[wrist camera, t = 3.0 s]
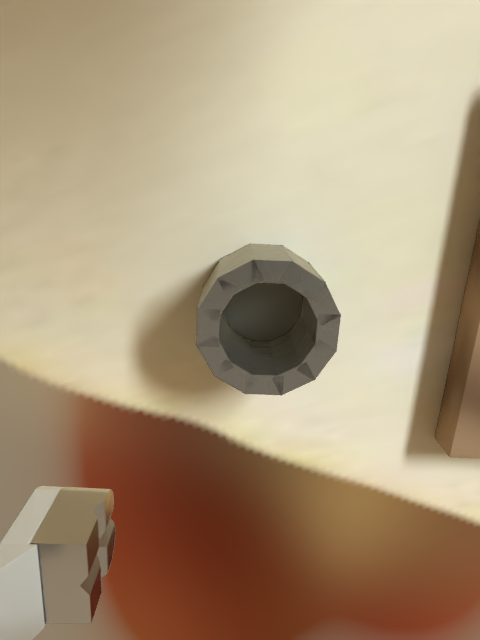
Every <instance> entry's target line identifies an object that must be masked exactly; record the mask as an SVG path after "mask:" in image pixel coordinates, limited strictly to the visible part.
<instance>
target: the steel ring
mask: <svg viewBox="0 0 480 640" xmlns="http://www.w3.org/2000/svg"><path fill="white" fill-rule="evenodd" d="M256 283H279V284H286V285H288V286H289V287H291V288H292V289H294V290H295V291H297V292H299V293H300V294H302V295H303V302H302V313H301V316H300V318H299V319H298V321H297V322H296V323H295V325H294V326H293V328H292V329H291V330H290V332H289V333H287V334H285V335H282V336H280V337H278V338H276V339H274V340H272V341H249V340H247V339H246V338H244V337H242V336H241V335H239V334H237V333H236V332H234V331H232V330H231V328H230V327H229V325H228V323H227V321H226V319H225V318H224V316H223V314H222V312H223V311H224V309H225V308H226V306H227V304H228V303H229V301H230V300H231V298H232V297H233V295H234V294H236V293H238V292H240V291H242V290H244V289H246V288H248V287H250V286H252V285H254V284H256ZM340 316H341V314H340V313H339V311H338V309H337V307H336V305H335V302H334V300H333V298H332V296H331V294H330V292H329V290H328V288H327V285H326V282H325V281H324V280H323V279H322V278H321V276H320V275H319V274H318V273H317V272H316V270H315V269H314V268H313V267H312V266H311V264H310V263H309V262H307V261H305V260H304V259H302V258H301V257H299V256H298V255H296V254H295V253H293V252H292V251H290V250H289V249H287V248H285V247H284V246H283V245H263V244H248V245H246V246H245V247H243V248H241V249H239V250H237V251H235V252H233V253H231V254H229V255H227V256H225V257H223V258H221V259H220V261H219V262H218V264H217V265H216V267H215V269H214V270H213V272H212V273H211V275H210V276H209V278H208V280H207V281H206V283H205V284H204V286H203V289H202V293H201V297H200V301H199V304H198V308H197V344H196V345H197V347H198V349H199V350H200V352H201V354H202V355H203V357H204V359H205V361H206V362H207V364H208V366H209V367H210V369H211V371H212V373H213V374H214V376H215V377H217V378H219V379H221V380H222V381H224V382H226V383H228V384H229V385H231V386H233V387H235V388H236V389H238V390H240V391H242V392H243V393H245V394H265V395H283V394H285V393H287V392H289V391H292V390H294V389H296V388H298V387H300V386H302V385H304V384H307V383H309V382H311V381H313V380H315V379H316V377H317V376H318V375H319V373H320V372H321V371H322V369H323V368H324V367H325V365H326V364H327V363H328V361H329V360H330V359H331V357H332V356H333V355H334V353H335V352H336V351H337V350H336V349H337V341H338V333H339V325H340Z"/></svg>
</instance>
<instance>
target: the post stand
mask: <svg viewBox="0 0 480 640" xmlns="http://www.w3.org/2000/svg"><path fill="white" fill-rule="evenodd" d="M435 438H436V440H437V441H438V442H439V444H440V445H441V446H442V448H443V449H444V450H445V452H446V453H447V454H448V456H449V457H458V458H480V221H479V225H478V230H477V235H476V240H475V245H474V250H473V255H472V259H471V264H470V269H469V274H468V279H467V284H466V289H465V293H464V298H463V303H462V308H461V313H460V318H459V323H458V327H457V332H456V337H455V342H454V347H453V352H452V357H451V361H450V366H449V371H448V376H447V381H446V386H445V390H444V395H443V400H442V405H441V410H440V415H439V420H438V424H437V429H436V434H435Z"/></svg>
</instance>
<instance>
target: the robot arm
mask: <svg viewBox="0 0 480 640" xmlns="http://www.w3.org/2000/svg"><path fill="white" fill-rule="evenodd" d="M113 508H114V497H113V492H112V490H111V489H94V488H77V487H54V486H40V487H38V488H37V489H35V490H34V491H33V493H32V494H31V496H30V498H29V499H28V501H27V502H26V504H25V505H24V507H23V508H22V510H21V511H20V513H19V514H18V516H17V518H16V519H15V520H14V522H13V524H12V525H11V527H10V528H9V530H8V531H7V533H6V534H5V536H4V538H3V539H2V540H1V542H0V640H32V639H33V638H34V637H35V636H36V635H37V634H38V633H39V632H40V631H41V630H42V629H43V628H44V627H45V624H90V623H92V620H93V617H94V614H95V611H96V608H97V605H98V601H99V599H100V595H101V578H103V577H104V576H105V575H106V574H107V573H108V571H109V567H110V564H111V561H112V556H113V550H114V543H115V524H114V522H113V521H112V520H111V519H110V516H111V513H112V511H113Z"/></svg>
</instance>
